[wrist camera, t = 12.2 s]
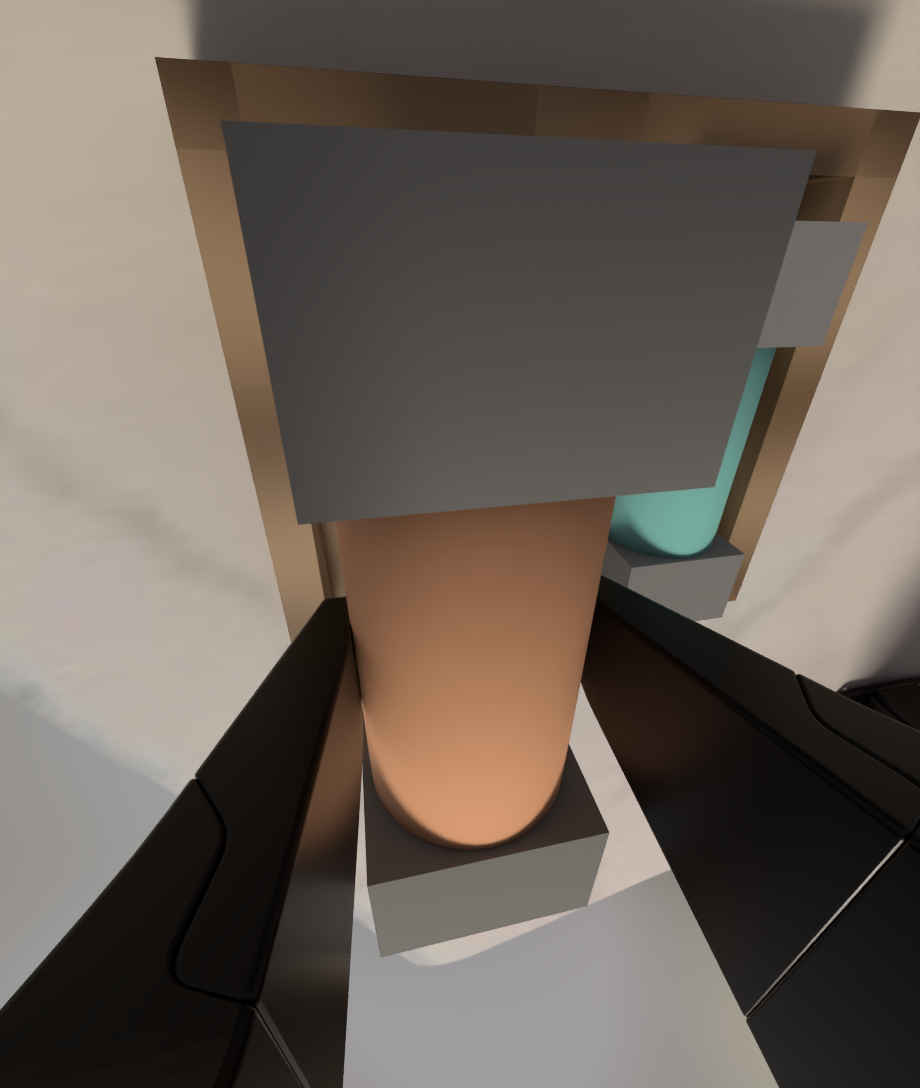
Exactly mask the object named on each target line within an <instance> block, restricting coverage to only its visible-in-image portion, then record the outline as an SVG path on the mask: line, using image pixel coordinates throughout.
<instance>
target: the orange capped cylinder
mask: <svg viewBox="0 0 920 1088" xmlns="http://www.w3.org/2000/svg"><path fill="white" fill-rule="evenodd" d="M221 125H222V131H223V136H224V141H225V146H226V152H227V157H228V162H229V167H230V172H231V178H232V183H233V188H234V193H235V199H236V204H237V209H238V214H239V219H240V225H241V230H242V235H243V240H244V245H245V251H246V256H247V261H248V266H249V272H250V277H251V282H252V287H253V292H254V298H255V303H256V308H257V313H258V319H259V324H260V329H261V334H262V339H263V345H264V350H265V355H266V360H267V366H268V371H269V376H270V381H271V386H272V392H273V397H274V402H275V407H276V412H277V418H278V423H279V428H280V433H281V439H282V444H283V449H284V454H285V459H286V465H287V470H288V475H289V480H290V486H291V491H292V496H293V501H294V506H295V512H296V517H297V522H298V525H301V524H312V523H323V522H334V521H335V523H336V530H337V537H338V543H339V550H340V557H341V564H342V571H343V578H344V585H345V592H346V598H347V605H348V612H349V619H350V624H351V630H352V637H353V644H354V651H355V658H356V665H357V671H358V678H359V685H360V692H361V700H362V715H363V759H362V764H363V789H364V815H365V840H366V865H367V887H368V893H369V898H370V903H371V908H372V913H373V919H374V924H375V929H376V934H377V940H378V945H379V950H380V955H381V957H384V956H388V955H392V954H396V953H400V952H405V951H409V950H413V949H417V948H421V947H425V946H429V945H433V944H437V943H441V942H445V941H449V940H453V939H457V938H461V937H465V936H469V935H473V934H477V933H481V932H485V931H489V930H493V929H497V928H501V927H505V926H509V925H513V924H517V923H521V922H525V921H529V920H533V919H537V918H541V917H545V916H549V915H553V914H557V913H561V912H565V911H569V910H573V909H577V908H581V907H585V906H587V904H588V901H589V898H590V895H591V891H592V888H593V885H594V881H595V878H596V875H597V872H598V868H599V865H600V862H601V858H602V855H603V852H604V849H605V845H606V842H607V839H608V835H609V831H608V829H607V826H606V824H605V822H604V820H603V818H602V815H601V813H600V811H599V809H598V807H597V805H596V802H595V800H594V798H593V796H592V794H591V791H590V789H589V787H588V785H587V783H586V780H585V778H584V776H583V774H582V772H581V770H580V767H579V765H578V763H577V761H576V759H575V756H574V754H573V752H572V750H571V748H570V746H569V740H570V734H571V729H572V724H573V719H574V713H575V708H576V703H577V698H578V692H579V687H580V682H581V677H582V672H583V666H584V661H585V656H586V651H587V645H588V640H589V635H590V630H591V624H592V619H593V614H594V609H595V603H596V598H597V593H598V588H599V583H600V577H601V572H602V567H603V562H604V556H605V551H606V546H607V541H608V535H609V530H610V525H611V520H612V514H613V509H614V504H615V499H616V496H622V495H634V494H645V493H656V492H667V491H678V490H689V489H700V488H711V487H715V484H716V480H717V477H718V474H719V471H720V467H721V464H722V461H723V457H724V454H725V451H726V448H727V444H728V441H729V438H730V434H731V431H732V428H733V425H734V421H735V418H736V415H737V411H738V408H739V405H740V402H741V398H742V395H743V392H744V388H745V385H746V382H747V379H748V375H749V372H750V369H751V365H752V362H753V359H754V356H755V352H756V349H757V346H758V342H759V339H760V336H761V333H762V329H763V326H764V323H765V319H766V316H767V313H768V310H769V306H770V303H771V300H772V296H773V293H774V290H775V287H776V283H777V280H778V277H779V273H780V270H781V267H782V264H783V260H784V257H785V254H786V250H787V247H788V244H789V240H790V237H791V234H792V231H793V227H794V224H795V221H796V217H797V214H798V211H799V208H800V204H801V201H802V198H803V194H804V191H805V188H806V185H807V181H808V178H809V175H810V171H811V168H812V165H813V162H814V158H815V155H816V152H817V150H800V149H780V148H760V147H740V146H721V145H701V144H681V143H661V142H642V141H622V140H602V139H582V138H563V137H543V136H523V135H503V134H483V133H464V132H444V131H424V130H404V129H385V128H365V127H345V126H325V125H306V124H286V123H266V122H246V121H227V120H221Z"/></svg>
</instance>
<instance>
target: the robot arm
mask: <svg viewBox="0 0 920 1088" xmlns="http://www.w3.org/2000/svg"><path fill="white" fill-rule="evenodd" d="M581 684H582V687H583V689H584V692H585V694H586V697H587V700H588V702H589V704H590V706H591V708H592V710H593V712H594V714H595V716H596V718H597V720H598V723H599V725H600V727H601V729H602V731H603V733H604V735H605V737H606V739H607V741H608V743H609V745H610V747H611V749H612V751H613V753H614V755H615V757H616V759H617V761H618V763H619V765H620V767H621V769H622V771H623V773H624V775H625V777H626V779H627V781H628V783H629V785H630V787H631V789H632V791H633V793H634V795H635V797H636V799H637V801H638V803H639V805H640V807H641V809H642V811H643V813H644V815H645V817H646V819H647V821H648V823H649V825H650V827H651V829H652V831H653V833H654V835H655V837H656V839H657V841H658V843H659V846H660V848H661V850H662V852H663V854H664V856H665V858H666V860H667V862H668V864H669V866H670V868H671V870H672V872H673V874H674V875H675V878H676V880H677V882H678V884H679V886H680V888H681V890H682V892H683V894H684V896H685V898H686V900H687V902H688V904H689V906H690V908H691V910H692V912H693V914H694V916H695V918H696V920H697V922H698V924H699V926H700V928H701V930H702V932H703V934H704V936H705V938H706V940H707V942H708V944H709V946H710V948H711V950H712V952H713V954H714V956H715V958H716V960H717V962H718V964H719V966H720V969H721V970H722V972H723V975H724V977H725V979H726V980H727V983H728V985H729V986H730V988H731V991H732V993H733V995H734V997H735V999H736V1001H737V1003H738V1005H739V1007H740V1009H741V1011H742V1013H743V1014H744V1016H746V1017H747V1018H746V1022H747V1024H748V1026H749V1028H750V1030H751V1032H752V1034H753V1036H754V1038H755V1040H756V1042H757V1044H758V1046H759V1048H760V1050H761V1052H762V1054H763V1056H764V1058H765V1060H766V1062H767V1064H768V1066H769V1068H770V1070H771V1072H772V1074H773V1076H774V1078H775V1080H776V1082H777V1084H778V1086H779V1088H920V677H919V678H914V679H908V680H903V681H898V682H892V683H887V684H882V685H876V686H871V687H866V688H860V689H855V690H850V691H846V692H843V693H841V694H839V693H837V692H835V691H833V690H831V689H829V688H827V687H825V686H823V685H821V684H819V683H817V682H815V681H813V680H811V679H809V678H807V677H805V676H803V675H801V674H797V675H795V672H794V671H792V670H791V669H789V668H787V667H785V666H783V665H781V664H779V663H777V662H775V661H773V660H771V659H769V658H767V657H765V656H763V655H761V654H759V653H757V652H755V651H753V650H751V649H749V648H747V647H745V646H743V645H741V644H739V643H737V642H735V641H733V640H731V639H729V638H727V637H725V636H723V635H721V634H719V633H717V632H715V631H713V630H711V629H709V628H707V627H705V626H703V625H701V624H699V623H697V622H695V621H693V620H691V619H689V618H687V617H685V616H683V615H681V614H679V613H677V612H675V611H673V610H671V609H669V608H667V607H665V606H663V605H661V604H659V603H657V602H655V601H653V600H651V599H649V598H647V597H645V596H643V595H641V594H639V593H637V592H635V591H633V590H631V589H629V588H627V587H625V586H623V585H621V584H619V583H617V582H615V581H613V580H611V579H609V578H607V577H605V576H603V575H601V577H600V583H599V588H598V593H597V598H596V603H595V609H594V614H593V619H592V624H591V630H590V635H589V640H588V645H587V651H586V656H585V661H584V666H583V672H582V677H581ZM362 759H363V715H362V700H361V692H360V685H359V678H358V671H357V665H356V658H355V651H354V644H353V637H352V630H351V624H350V619H349V612H348V605H347V598H346V596H344V597H335V598H327V599H324V600H323V601H322V602H321V604H320V605H319V606H318V608H317V609H316V610H315V612H314V613H313V614H312V616H311V617H310V618H309V620H308V621H307V623H306V624H305V625H304V627H303V628H302V629H301V631H300V632H299V633H298V635H297V636H296V637H295V639H294V640H293V642H292V643H291V644H290V646H289V647H288V648H287V650H286V651H285V652H284V654H283V655H282V656H281V658H280V659H279V661H278V662H277V663H276V665H275V666H274V667H273V669H272V670H271V671H270V673H269V674H268V675H267V677H266V678H265V680H264V681H263V682H262V684H261V685H260V686H259V688H258V689H257V690H256V692H255V693H254V695H253V696H252V697H251V699H250V700H249V701H248V703H247V704H246V705H245V707H244V708H243V709H242V711H241V712H240V714H239V715H238V716H237V718H236V719H235V720H234V722H233V723H232V724H231V726H230V727H229V728H228V730H227V731H226V733H225V734H224V735H223V737H222V738H221V739H220V741H219V742H218V743H217V745H216V746H215V747H214V749H213V750H212V752H211V753H210V754H209V756H208V757H207V758H206V760H205V761H204V762H203V764H202V765H201V766H200V768H199V769H198V771H197V772H196V774H195V778H196V779H191V780H190V781H189V782H188V784H187V785H186V786H185V788H184V789H183V790H182V792H181V793H180V795H179V796H178V797H177V799H176V800H175V801H174V803H173V804H172V805H171V807H170V808H169V809H168V811H167V812H166V813H165V815H164V816H163V817H162V818H161V820H160V821H159V822H158V824H157V825H156V826H155V828H154V829H153V830H152V831H151V833H150V834H149V835H148V837H147V838H146V839H145V840H144V842H143V843H142V844H141V846H140V847H139V848H138V850H137V851H136V852H135V853H134V855H133V856H132V857H131V858H130V860H129V861H128V862H127V863H126V864H125V865H124V867H123V868H122V869H121V870H120V872H119V873H118V874H117V875H116V876H115V877H114V879H113V880H112V881H111V882H110V883H109V884H108V886H107V887H106V888H105V889H104V890H103V892H102V893H101V894H100V895H99V896H98V898H97V899H96V900H95V902H93V904H92V905H91V906H90V907H89V908H88V910H87V911H86V912H85V913H84V914H83V916H82V917H81V918H80V919H79V920H78V921H77V922H76V923H75V925H74V926H73V927H72V928H71V929H70V930H69V932H68V933H67V934H66V935H65V936H64V937H63V938H62V940H61V941H60V942H59V943H58V944H57V945H56V946H55V948H54V949H53V950H52V951H51V952H50V953H49V955H48V956H47V957H46V958H45V959H44V960H43V961H42V962H41V964H40V965H39V966H38V967H37V968H36V969H35V971H34V972H33V973H32V974H31V975H30V976H29V977H28V979H27V980H26V981H25V982H24V983H23V984H22V986H21V987H20V988H19V989H18V990H17V991H16V992H15V993H14V995H13V996H12V997H11V998H10V999H9V1000H8V1001H7V1003H6V1004H5V1005H4V1006H3V1007H2V1008H1V1010H0V1088H343V1075H344V1057H345V1041H346V1025H347V1008H348V991H349V975H350V958H351V941H352V925H353V909H354V892H355V875H356V859H357V842H358V826H359V809H360V792H361V776H362Z"/></svg>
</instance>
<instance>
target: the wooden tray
mask: <svg viewBox="0 0 920 1088" xmlns="http://www.w3.org/2000/svg"><path fill="white" fill-rule="evenodd" d="M155 60H156V64H157V68H158V73H159V77H160V81H161V86H162V90H163V94H164V98H165V103H166V107H167V111H168V116H169V120H170V124H171V128H172V133H173V137H174V141H175V146H176V150H177V154H178V159H179V163H180V167H181V171H182V176H183V180H184V184H185V189H186V193H187V197H188V201H189V206H190V210H191V214H192V219H193V223H194V227H195V231H196V236H197V240H198V244H199V249H200V253H201V257H202V262H203V266H204V270H205V274H206V279H207V283H208V287H209V292H210V296H211V300H212V304H213V309H214V313H215V317H216V322H217V326H218V330H219V334H220V339H221V343H222V347H223V352H224V356H225V360H226V365H227V369H228V373H229V377H230V382H231V386H232V390H233V395H234V399H235V403H236V407H237V412H238V416H239V420H240V425H241V429H242V433H243V437H244V442H245V446H246V450H247V455H248V459H249V463H250V468H251V472H252V476H253V480H254V485H255V489H256V493H257V498H258V502H259V506H260V510H261V515H262V519H263V523H264V528H265V532H266V536H267V540H268V545H269V549H270V553H271V558H272V562H273V566H274V571H275V575H276V579H277V583H278V588H279V592H280V596H281V601H282V605H283V609H284V613H285V618H286V622H287V626H288V631H289V635H290V639H291V643H292V642H293V640H294V639H295V637H296V636H297V635H298V633H299V632H300V631H301V629H302V628H303V627H304V625H305V624H306V623H307V621H308V620H309V618H310V617H311V616H312V614H313V613H314V612H315V610H316V609H317V608H318V606H319V605H320V604H321V602H322V601H323V600H324V599H327V598H335V597H344V596H346V592H345V585H344V578H343V571H342V564H341V557H340V550H339V543H338V537H337V530H336V523H335V521H334V522H323V523H312V524H301V525H298V522H297V517H296V512H295V506H294V501H293V496H292V491H291V486H290V480H289V475H288V470H287V465H286V459H285V454H284V449H283V444H282V439H281V433H280V428H279V423H278V418H277V412H276V407H275V402H274V397H273V392H272V386H271V381H270V376H269V371H268V366H267V360H266V355H265V350H264V345H263V339H262V334H261V329H260V324H259V319H258V313H257V308H256V303H255V298H254V292H253V287H252V282H251V277H250V272H249V266H248V261H247V256H246V251H245V245H244V240H243V235H242V230H241V225H240V219H239V214H238V209H237V204H236V199H235V193H234V188H233V183H232V178H231V172H230V167H229V162H228V157H227V152H226V146H225V141H224V136H223V131H222V125H221V120H227V121H246V122H266V123H286V124H306V125H325V126H345V127H365V128H385V129H404V130H424V131H444V132H464V133H483V134H503V135H523V136H543V137H563V138H582V139H602V140H622V141H642V142H661V143H681V144H701V145H721V146H740V147H760V148H780V149H800V150H817V152H816V155H815V158H814V162H813V165H812V168H811V171H810V175H809V178H808V181H807V185H806V188H805V191H804V194H803V198H802V201H801V204H800V208H799V211H798V214H797V217H796V221H828V222H868V224H867V227H866V230H865V232H864V235H863V238H862V240H861V243H860V246H859V249H858V251H857V254H856V257H855V259H854V262H853V265H852V267H851V270H850V273H849V275H848V278H847V281H846V284H845V286H844V289H843V292H842V294H841V297H840V300H839V302H838V305H837V308H836V310H835V313H834V316H833V319H832V321H831V324H830V327H829V329H828V332H827V335H826V337H825V340H824V343H823V345H822V346H804V347H777V348H776V351H775V354H774V357H773V360H772V363H771V366H770V369H769V372H768V375H767V378H766V381H765V384H764V387H763V391H762V394H761V397H760V400H759V403H758V406H757V409H756V412H755V415H754V418H753V421H752V424H751V427H750V430H749V434H748V437H747V440H746V443H745V446H744V449H743V452H742V455H741V458H740V461H739V464H738V467H737V470H736V473H735V477H734V480H733V483H732V486H731V489H730V492H729V495H728V498H727V501H726V504H725V507H724V510H723V513H722V516H721V520H720V523H719V526H718V529H717V532H716V533H718V534H719V535H720V536H722V537H723V538H724V539H726V540H727V541H728V542H730V543H731V544H732V545H734V546H735V547H736V548H737V549H739V550H740V551H741V552H743V553H744V554H745V556H744V558H743V561H742V564H741V566H740V569H739V572H738V574H737V577H736V580H735V582H734V585H733V588H732V591H731V593H730V596H729V599H728V601H734V600H736V598H737V595H738V592H739V590H740V587H741V585H742V582H743V579H744V577H745V574H746V571H747V569H748V566H749V564H750V561H751V558H752V556H753V553H754V551H755V548H756V545H757V543H758V540H759V537H760V535H761V532H762V530H763V527H764V524H765V522H766V519H767V517H768V514H769V511H770V509H771V506H772V503H773V501H774V498H775V496H776V493H777V490H778V488H779V485H780V483H781V480H782V477H783V475H784V472H785V469H786V467H787V464H788V462H789V459H790V456H791V454H792V451H793V449H794V446H795V443H796V441H797V438H798V435H799V433H800V430H801V428H802V425H803V422H804V420H805V417H806V415H807V412H808V409H809V407H810V404H811V401H812V399H813V396H814V394H815V391H816V388H817V386H818V383H819V381H820V378H821V375H822V373H823V370H824V367H825V365H826V362H827V360H828V357H829V354H830V352H831V349H832V347H833V344H834V341H835V339H836V336H837V333H838V331H839V328H840V326H841V323H842V320H843V318H844V315H845V313H846V310H847V307H848V305H849V302H850V299H851V297H852V294H853V292H854V289H855V286H856V284H857V281H858V279H859V276H860V273H861V271H862V268H863V265H864V263H865V260H866V258H867V255H868V252H869V250H870V247H871V245H872V242H873V239H874V237H875V234H876V231H877V229H878V226H879V224H880V221H881V218H882V216H883V213H884V211H885V208H886V205H887V203H888V200H889V197H890V195H891V192H892V190H893V187H894V184H895V182H896V179H897V177H898V174H899V171H900V169H901V166H902V163H903V161H904V158H905V156H906V153H907V150H908V148H909V145H910V143H911V140H912V137H913V135H914V132H915V129H916V127H917V124H918V122H919V119H920V113H919V112H905V111H891V110H877V109H863V108H850V107H836V106H822V105H808V104H794V103H781V102H767V101H753V100H739V99H726V98H712V97H698V96H684V95H670V94H657V93H643V92H629V91H615V90H602V89H588V88H574V87H560V86H546V85H533V84H519V83H505V82H491V81H477V80H464V79H450V78H436V77H422V76H409V75H395V74H381V73H367V72H353V71H340V70H326V69H312V68H298V67H284V66H271V65H257V64H243V63H229V62H216V61H202V60H188V59H174V58H160V57H155Z"/></svg>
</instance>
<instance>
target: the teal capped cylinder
mask: <svg viewBox="0 0 920 1088" xmlns="http://www.w3.org/2000/svg"><path fill="white" fill-rule="evenodd" d="M867 224H868V222H828V221H795V224H794V227H793V231H792V234H791V237H790V240H789V244H788V247H787V250H786V254H785V257H784V260H783V264H782V267H781V270H780V273H779V277H778V280H777V283H776V287H775V290H774V293H773V296H772V300H771V303H770V306H769V310H768V313H767V316H766V319H765V323H764V326H763V329H762V333H761V336H760V339H759V342H758V346H757V349H756V352H755V356H754V359H753V362H752V365H751V369H750V372H749V375H748V379H747V382H746V385H745V388H744V392H743V395H742V398H741V402H740V405H739V408H738V411H737V415H736V418H735V421H734V425H733V428H732V431H731V434H730V438H729V441H728V444H727V448H726V451H725V454H724V457H723V461H722V464H721V467H720V471H719V474H718V477H717V480H716V484H715V487H711V488H700V489H689V490H678V491H667V492H656V493H645V494H634V495H622V496H616V499H615V504H614V509H613V514H612V520H611V525H610V530H609V535H608V541H607V546H606V551H605V556H604V562H603V567H602V572H601V575H603V576H605V577H607V578H609V579H611V580H613V581H615V582H617V583H619V584H621V585H623V586H625V587H627V588H629V589H631V590H633V591H635V592H637V593H639V594H641V595H643V596H645V597H647V598H649V599H651V600H653V601H655V602H657V603H659V604H661V605H663V606H665V607H667V608H669V609H671V610H673V611H675V612H677V613H679V614H681V615H683V616H685V617H687V618H689V619H691V620H693V621H699V620H706V619H713V618H720V617H722V615H723V612H724V609H725V607H726V604H727V601H728V599H729V596H730V593H731V591H732V588H733V585H734V582H735V580H736V577H737V574H738V572H739V569H740V566H741V564H742V561H743V558H744V556H745V554H744V553H743V552H741V551H740V550H739V549H737V548H736V547H735V546H734V545H732V544H731V543H730V542H728V541H727V540H726V539H724V538H723V537H722V536H720V535H719V534H718V533H716V532H717V529H718V526H719V523H720V520H721V516H722V513H723V510H724V507H725V504H726V501H727V498H728V495H729V492H730V489H731V486H732V483H733V480H734V477H735V473H736V470H737V467H738V464H739V461H740V458H741V455H742V452H743V449H744V446H745V443H746V440H747V437H748V434H749V430H750V427H751V424H752V421H753V418H754V415H755V412H756V409H757V406H758V403H759V400H760V397H761V394H762V391H763V387H764V384H765V381H766V378H767V375H768V372H769V369H770V366H771V363H772V360H773V357H774V354H775V351H776V348H777V347H804V346H822V345H823V343H824V340H825V337H826V335H827V332H828V329H829V327H830V324H831V321H832V319H833V316H834V313H835V310H836V308H837V305H838V302H839V300H840V297H841V294H842V292H843V289H844V286H845V284H846V281H847V278H848V275H849V273H850V270H851V267H852V265H853V262H854V259H855V257H856V254H857V251H858V249H859V246H860V243H861V240H862V238H863V235H864V232H865V230H866V227H867Z"/></svg>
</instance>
